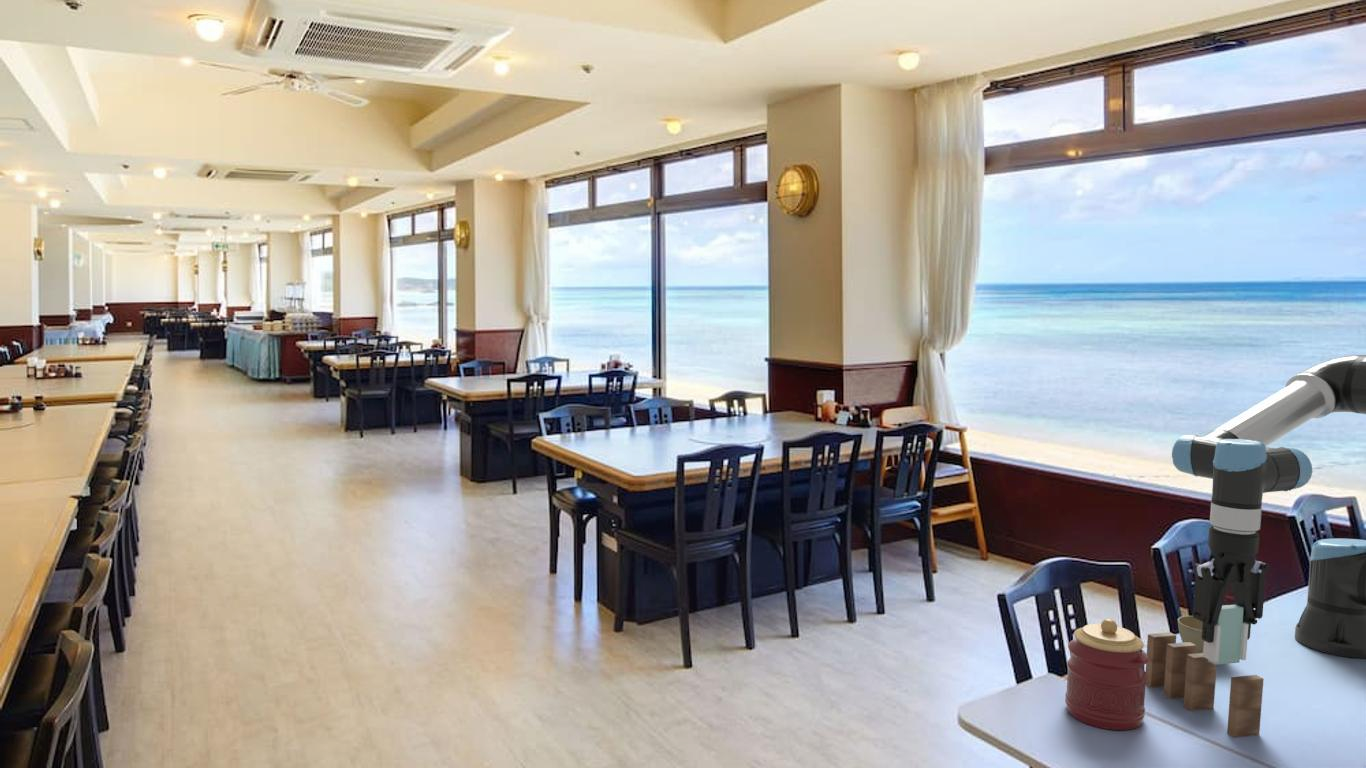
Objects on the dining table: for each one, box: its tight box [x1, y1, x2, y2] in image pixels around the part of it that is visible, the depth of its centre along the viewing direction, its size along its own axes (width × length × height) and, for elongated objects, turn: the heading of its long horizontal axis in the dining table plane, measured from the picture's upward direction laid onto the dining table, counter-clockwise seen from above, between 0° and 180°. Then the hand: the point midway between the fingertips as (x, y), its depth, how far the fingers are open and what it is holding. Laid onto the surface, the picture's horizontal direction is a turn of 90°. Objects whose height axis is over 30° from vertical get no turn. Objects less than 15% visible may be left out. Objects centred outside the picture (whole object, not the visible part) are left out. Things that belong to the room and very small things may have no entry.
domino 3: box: [1183, 653, 1218, 712], centre depth 165 cm, size 5×2×10 cm, turn 102°
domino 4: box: [1208, 604, 1244, 666], centre depth 159 cm, size 5×2×10 cm, turn 102°
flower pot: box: [1177, 615, 1204, 654], centre depth 189 cm, size 10×10×7 cm
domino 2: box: [1163, 642, 1196, 700], centre depth 170 cm, size 5×2×10 cm, turn 102°
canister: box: [1064, 618, 1148, 731], centre depth 162 cm, size 13×13×18 cm
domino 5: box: [1226, 674, 1264, 738], centre depth 155 cm, size 5×2×10 cm, turn 102°
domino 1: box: [1145, 631, 1177, 688], centre depth 175 cm, size 5×2×10 cm, turn 102°
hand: (1224, 657), depth 159 cm, fingers closed on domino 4, 5 cm apart
